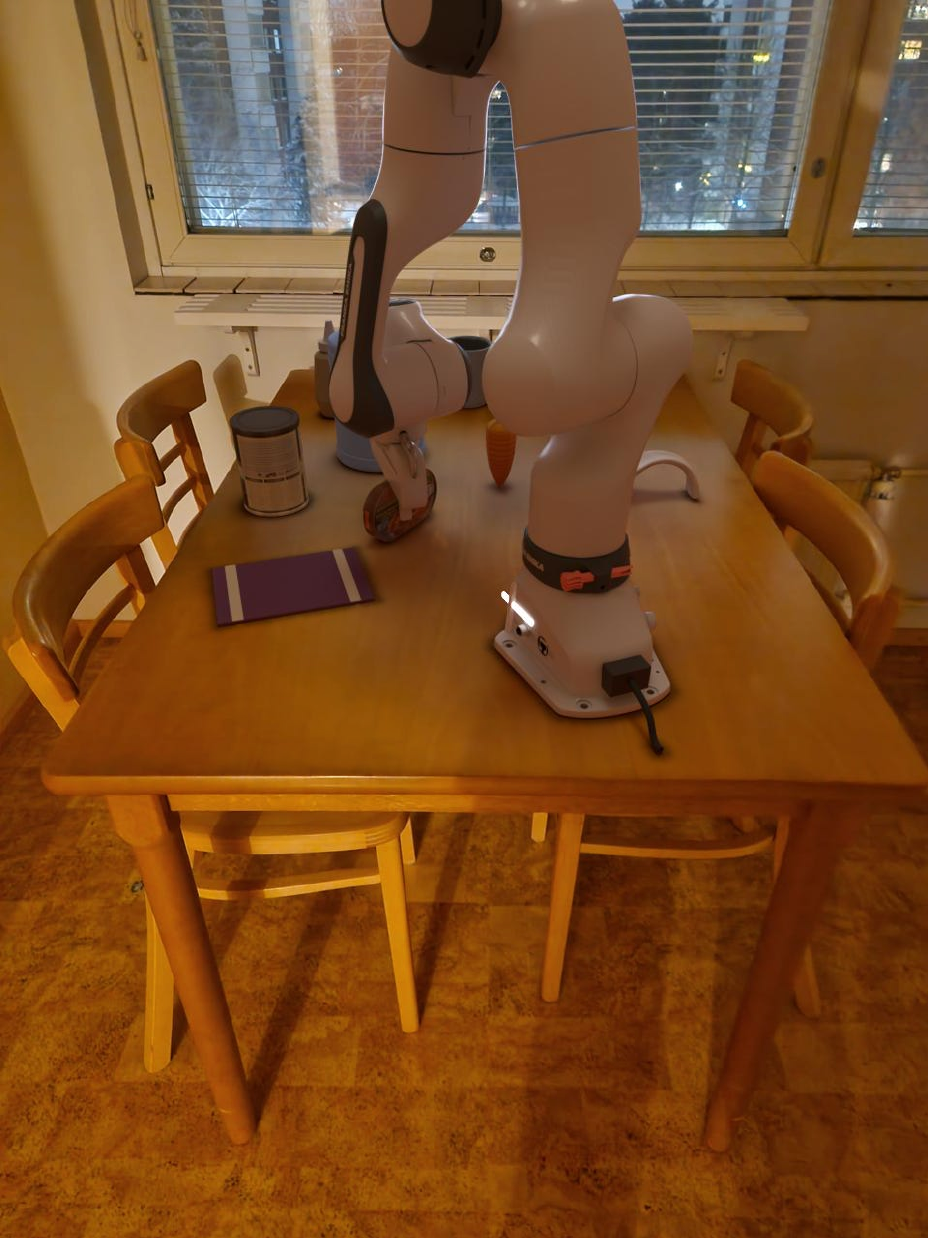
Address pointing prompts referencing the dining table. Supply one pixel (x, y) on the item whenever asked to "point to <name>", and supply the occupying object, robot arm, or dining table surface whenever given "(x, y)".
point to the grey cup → (475, 365)
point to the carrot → (499, 450)
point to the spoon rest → (671, 458)
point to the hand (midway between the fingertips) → (400, 508)
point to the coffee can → (270, 460)
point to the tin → (393, 510)
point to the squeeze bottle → (323, 372)
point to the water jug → (349, 444)
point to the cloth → (289, 586)
